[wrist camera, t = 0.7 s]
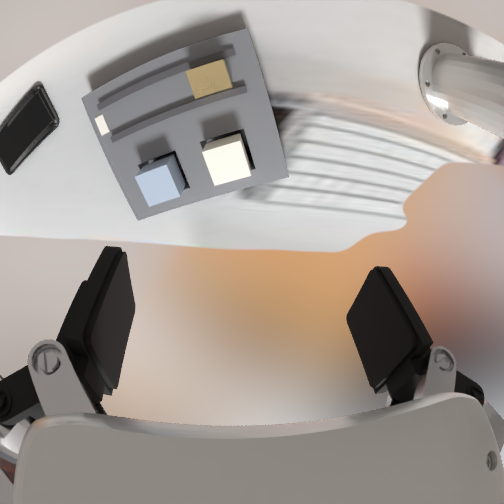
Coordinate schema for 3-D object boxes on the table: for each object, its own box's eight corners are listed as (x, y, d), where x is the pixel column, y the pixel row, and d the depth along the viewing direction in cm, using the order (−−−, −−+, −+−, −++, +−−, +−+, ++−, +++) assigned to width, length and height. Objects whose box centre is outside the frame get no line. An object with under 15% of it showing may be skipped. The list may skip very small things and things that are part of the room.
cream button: (240, 133, 28) (240, 140, 26) (250, 164, 31) (251, 175, 28) (205, 143, 29) (201, 152, 26) (217, 174, 31) (214, 185, 28)
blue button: (173, 154, 29) (166, 164, 27) (185, 183, 32) (180, 196, 29) (144, 165, 30) (134, 176, 27) (156, 193, 32) (149, 206, 30)
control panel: (247, 32, 23) (247, 27, 20) (285, 168, 34) (289, 179, 31) (92, 94, 26) (78, 99, 23) (144, 209, 36) (136, 223, 33)
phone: (59, 124, 26) (8, 177, 29) (63, 122, 27) (12, 174, 30) (37, 82, 22) (-11, 141, 25) (42, 81, 23) (-7, 139, 26)
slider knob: (224, 60, 22) (223, 59, 20) (233, 85, 24) (232, 87, 22) (191, 71, 23) (185, 71, 21) (199, 96, 25) (195, 98, 22)
